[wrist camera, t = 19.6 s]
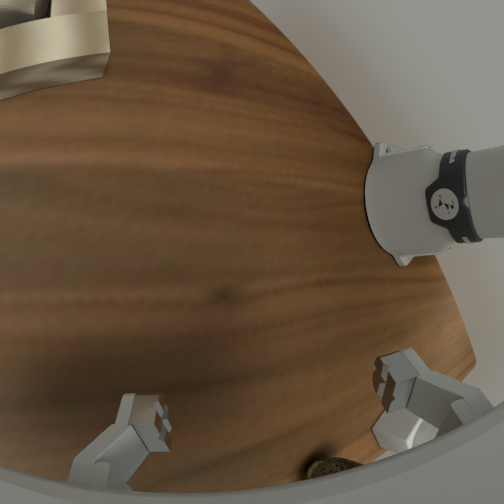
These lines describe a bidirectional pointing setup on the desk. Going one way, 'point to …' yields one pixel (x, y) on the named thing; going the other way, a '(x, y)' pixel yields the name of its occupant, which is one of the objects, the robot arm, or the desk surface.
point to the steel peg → (21, 11)
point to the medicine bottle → (402, 430)
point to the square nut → (55, 48)
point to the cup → (328, 467)
